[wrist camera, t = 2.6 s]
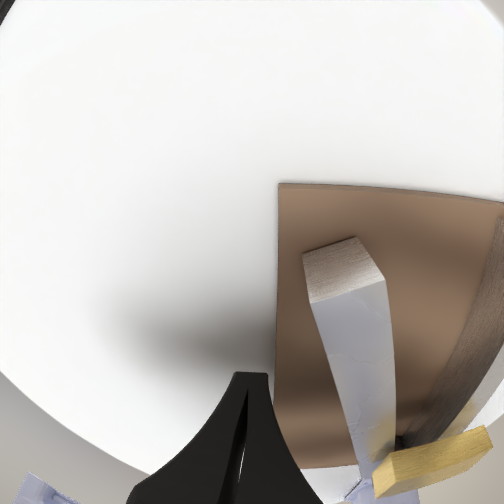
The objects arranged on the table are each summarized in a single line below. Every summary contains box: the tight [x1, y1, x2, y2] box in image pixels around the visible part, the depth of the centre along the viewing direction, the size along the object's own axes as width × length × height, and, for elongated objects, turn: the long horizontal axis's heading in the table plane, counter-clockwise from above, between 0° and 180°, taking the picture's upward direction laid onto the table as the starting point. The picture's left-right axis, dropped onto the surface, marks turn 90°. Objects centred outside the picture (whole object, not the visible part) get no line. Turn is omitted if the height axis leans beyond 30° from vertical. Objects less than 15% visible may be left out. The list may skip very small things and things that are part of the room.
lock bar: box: [372, 425, 493, 499], centre depth 9 cm, size 3×6×2 cm, turn 91°
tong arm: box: [302, 237, 396, 480], centre depth 11 cm, size 15×2×3 cm, turn 21°
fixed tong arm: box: [371, 218, 504, 489], centre depth 10 cm, size 18×4×4 cm, turn 1°
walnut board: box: [273, 184, 504, 469], centre depth 13 cm, size 21×16×1 cm
